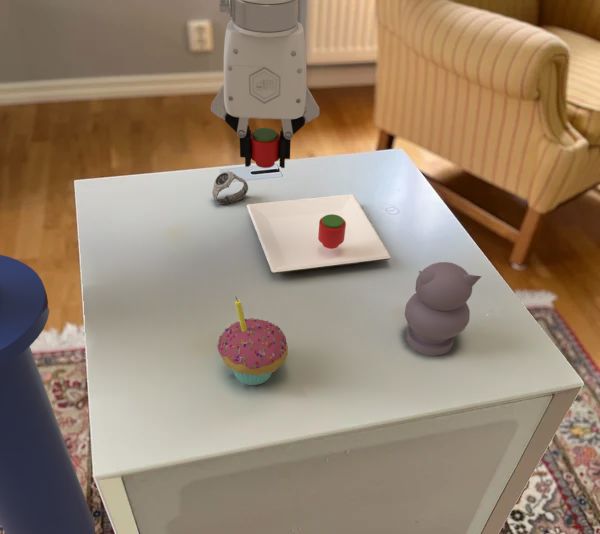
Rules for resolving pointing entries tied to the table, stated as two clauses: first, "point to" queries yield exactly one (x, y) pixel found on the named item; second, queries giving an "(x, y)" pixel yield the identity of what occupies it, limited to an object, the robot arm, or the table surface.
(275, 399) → the table surface
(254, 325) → the cupcake
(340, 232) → the red cylinder green top
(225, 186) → the wristwatch
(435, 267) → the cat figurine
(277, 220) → the plate
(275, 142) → the green-lidded red jar
